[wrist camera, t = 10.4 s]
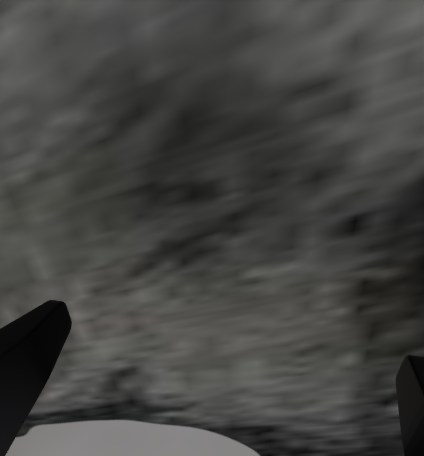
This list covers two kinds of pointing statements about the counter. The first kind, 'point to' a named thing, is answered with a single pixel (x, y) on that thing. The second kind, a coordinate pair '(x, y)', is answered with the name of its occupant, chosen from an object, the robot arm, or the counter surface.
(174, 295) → the counter surface
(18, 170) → the counter surface
